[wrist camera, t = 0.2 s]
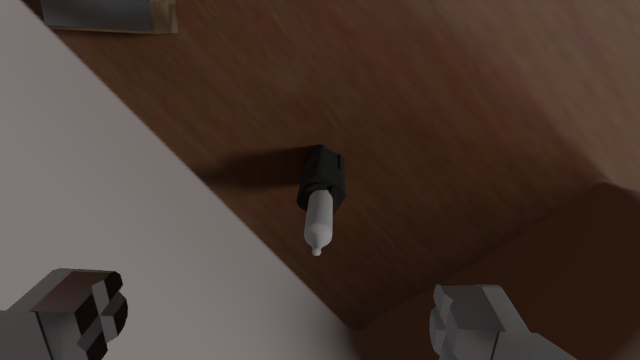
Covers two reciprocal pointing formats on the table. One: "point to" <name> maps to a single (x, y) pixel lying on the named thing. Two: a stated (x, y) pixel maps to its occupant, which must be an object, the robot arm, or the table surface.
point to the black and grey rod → (321, 195)
